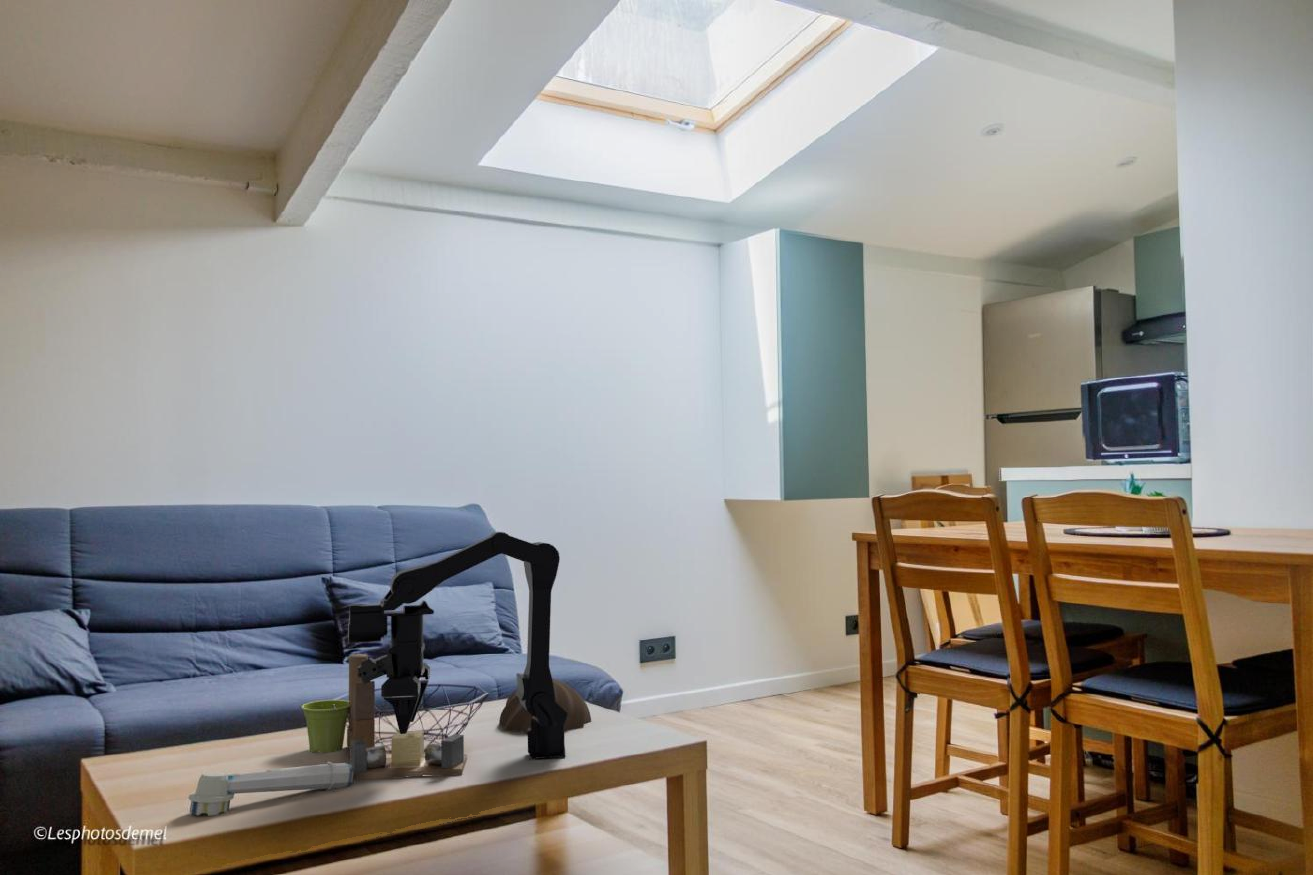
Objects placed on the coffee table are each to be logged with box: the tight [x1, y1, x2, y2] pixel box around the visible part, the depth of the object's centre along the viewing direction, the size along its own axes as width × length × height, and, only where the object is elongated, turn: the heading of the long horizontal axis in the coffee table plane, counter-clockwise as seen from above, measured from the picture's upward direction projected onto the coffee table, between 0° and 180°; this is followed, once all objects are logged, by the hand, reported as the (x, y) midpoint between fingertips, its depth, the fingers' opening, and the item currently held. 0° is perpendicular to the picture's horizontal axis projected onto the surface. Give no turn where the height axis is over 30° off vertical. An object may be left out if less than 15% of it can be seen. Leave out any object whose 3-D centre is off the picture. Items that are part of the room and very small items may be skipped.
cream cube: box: [390, 730, 425, 767], centre depth 173 cm, size 5×5×5 cm
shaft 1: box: [349, 739, 387, 774], centre depth 170 cm, size 6×5×5 cm
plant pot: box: [301, 699, 350, 754], centre depth 189 cm, size 9×9×9 cm
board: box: [352, 753, 468, 781], centre depth 173 cm, size 20×10×1 cm, turn 97°
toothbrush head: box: [188, 761, 353, 816], centre depth 156 cm, size 5×7×25 cm
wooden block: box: [346, 653, 376, 750], centre depth 187 cm, size 4×11×18 cm, turn 26°
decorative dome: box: [498, 677, 592, 735], centre depth 208 cm, size 19×20×10 cm
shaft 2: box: [424, 734, 465, 769], centre depth 172 cm, size 6×5×5 cm
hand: (406, 727), depth 173 cm, fingers open, 9 cm apart
